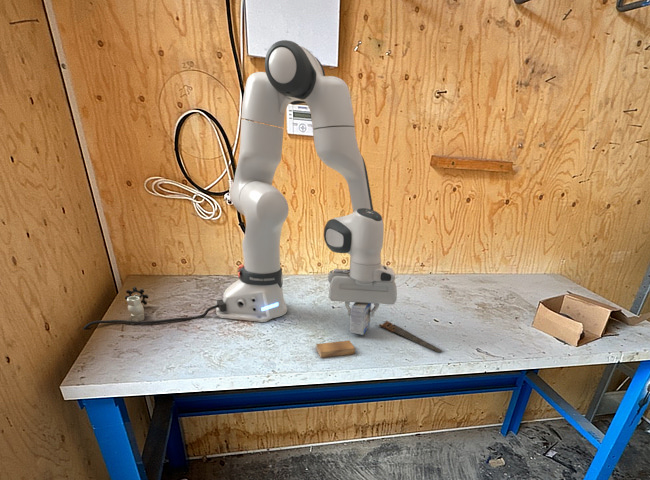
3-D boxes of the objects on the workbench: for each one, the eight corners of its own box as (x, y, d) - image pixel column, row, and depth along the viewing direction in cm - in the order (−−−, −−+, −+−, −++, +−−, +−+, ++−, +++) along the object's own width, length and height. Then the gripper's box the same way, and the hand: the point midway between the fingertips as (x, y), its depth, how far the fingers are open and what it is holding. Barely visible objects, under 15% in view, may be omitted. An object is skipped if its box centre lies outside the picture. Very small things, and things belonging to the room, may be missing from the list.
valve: (150, 320, 131) (150, 305, 140) (145, 300, 127) (146, 285, 136) (125, 322, 128) (127, 307, 137) (120, 301, 125) (122, 287, 134)
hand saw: (446, 348, 131) (447, 346, 130) (438, 353, 128) (438, 351, 127) (386, 321, 143) (386, 320, 143) (377, 325, 140) (377, 323, 140)
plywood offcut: (321, 357, 120) (321, 352, 119) (316, 349, 124) (316, 343, 123) (354, 353, 123) (355, 348, 122) (349, 345, 127) (349, 340, 126)
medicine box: (363, 335, 131) (365, 308, 126) (349, 332, 132) (351, 305, 127) (369, 325, 138) (372, 299, 133) (356, 323, 138) (358, 297, 134)
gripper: (328, 271, 121) (326, 317, 129) (400, 276, 123) (394, 321, 131) (328, 264, 126) (327, 309, 134) (397, 269, 128) (392, 313, 136)
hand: (361, 315), depth 132 cm, fingers closed on medicine box, 5 cm apart
